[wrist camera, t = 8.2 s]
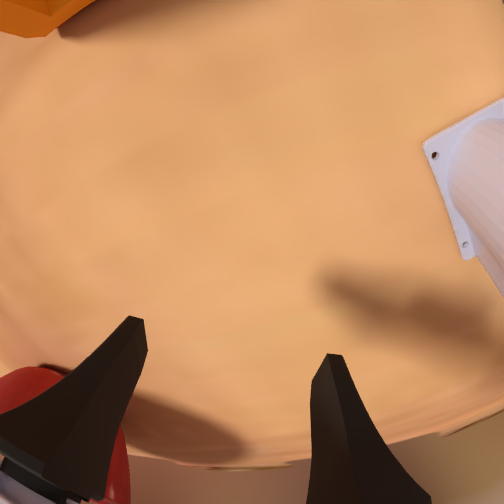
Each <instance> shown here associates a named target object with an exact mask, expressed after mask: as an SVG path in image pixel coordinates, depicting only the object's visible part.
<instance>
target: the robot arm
mask: <svg viewBox="0 0 504 504" xmlns="http://www.w3.org/2000/svg"><path fill="white" fill-rule="evenodd" d="M422 148H423V152H424V154H425V156H426V158H427V161H428V163H429V165H430V168H431V170H432V173H433V175H434V177H435V180H436V182H437V185H438V188H439V190H440V193H441V195H442V198H443V201H444V204H445V207H446V209H447V212H448V215H449V218H450V221H451V224H452V227H453V230H454V234H455V237H456V240H457V244H458V247H459V251H460V254H461V256H462V258H463V259H464V260H469V259H471V258H473V257H474V256H476V257H477V258H478V260H479V261H480V262H481V264H482V265H483V267H484V268H485V270H486V271H487V273H488V274H489V276H490V277H491V279H492V280H493V282H494V283H495V285H496V286H497V288H498V290H499V291H500V293H501V294H502V296H503V298H504V97H503V98H501V99H499V100H497V101H495V102H493V103H492V104H490V105H488V106H486V107H484V108H482V109H481V110H479V111H477V112H475V113H473V114H472V115H470V116H468V117H466V118H464V119H463V120H461V121H459V122H457V123H455V124H453V125H452V126H450V127H448V128H446V129H444V130H443V131H441V132H439V133H437V134H435V135H434V136H432V137H430V138H428V139H427V140H425V141H424V143H423V146H422ZM433 152H436V154H437V155H436V157H435V158H432V153H433ZM464 242H466V243H465V244H464V245H463V243H464ZM147 352H148V347H147V341H146V334H145V327H144V319H141V318H137V317H133V316H128V317H127V318H126V319H125V320H124V321H123V322H122V323H121V324H120V325H119V326H118V327H117V328H116V330H115V331H114V332H113V333H112V334H111V335H110V336H109V337H108V338H107V339H106V340H105V341H104V342H103V343H102V344H101V345H100V346H99V347H98V348H97V349H96V350H95V351H94V352H93V353H92V354H91V355H90V356H89V357H87V358H86V359H85V360H84V361H83V362H82V363H81V364H80V365H78V366H77V367H76V368H75V369H74V370H73V371H71V372H70V373H69V374H68V375H67V376H65V377H64V378H63V379H61V380H60V381H59V382H57V383H56V384H54V385H53V386H51V387H50V388H49V389H47V390H46V391H44V392H43V393H41V394H39V395H38V396H36V397H34V398H32V399H31V400H29V401H27V402H25V403H23V404H22V405H20V406H18V407H16V408H13V409H11V410H9V411H7V412H4V413H2V414H0V453H1V454H2V455H3V456H5V457H4V459H3V461H2V460H1V459H0V504H80V502H81V499H82V500H84V501H86V502H89V500H90V498H91V499H93V500H96V501H100V500H103V499H104V498H105V492H106V485H107V478H108V473H109V468H110V462H111V458H112V453H113V449H114V445H115V441H116V437H117V434H118V430H119V426H120V423H121V420H122V417H123V415H124V412H125V410H126V408H127V405H128V403H129V400H130V398H131V396H132V393H133V391H134V389H135V386H136V384H137V382H138V379H139V377H140V375H141V372H142V369H143V366H144V362H145V359H146V355H147ZM310 416H311V442H312V461H311V471H310V480H309V488H308V495H307V501H306V504H432V502H431V496H430V495H429V494H428V493H427V492H426V491H424V490H423V489H422V488H421V487H420V486H419V485H418V484H417V483H416V482H415V481H414V480H413V478H412V477H411V476H410V475H409V474H408V473H407V472H406V471H405V469H404V468H403V467H402V465H401V464H400V463H399V462H398V460H397V459H396V458H395V457H394V455H393V454H392V452H391V451H390V450H389V448H388V447H387V445H386V444H385V442H384V441H383V439H382V437H381V436H380V434H379V433H378V431H377V429H376V427H375V426H374V424H373V422H372V420H371V418H370V416H369V414H368V412H367V410H366V408H365V406H364V404H363V402H362V400H361V398H360V396H359V394H358V391H357V389H356V387H355V385H354V382H353V380H352V378H351V375H350V373H349V370H348V368H347V365H346V363H345V360H344V358H343V356H342V355H336V354H328V353H327V355H326V357H325V359H324V360H323V362H322V364H321V366H320V367H319V369H318V371H317V373H316V374H315V376H314V378H313V380H312V384H311V397H310Z"/></svg>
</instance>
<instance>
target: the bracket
mask: <svg viewBox="0 0 504 504" xmlns="http://www.w3.org/2000/svg"><path fill="white" fill-rule="evenodd" d="M93 1H95V0H0V31H2V32H5V33H9V34H13V35H17V36H20V37H24V38H33V37H46V36H47V35H48V34H49V33H51V32H52V31H53V30H54V29H56V28H57V27H58V26H59V25H61V24H62V23H63V22H65V21H66V20H67V19H69V18H70V17H71V16H73V15H74V14H76V13H77V12H78V11H80V10H81V9H83V8H84V7H86V6H87V5H89V4H90V3H92V2H93Z"/></svg>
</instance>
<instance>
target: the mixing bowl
mask: <svg viewBox="0 0 504 504" xmlns="http://www.w3.org/2000/svg"><path fill="white" fill-rule="evenodd" d="M65 376H67V375H66V374H64V373H62V372H60V371H57V370H54V369H50V368H40V367H24V368H21V369H17V370H15V371H13V372H11V373H9V374H7V375H5V376H3V377H1V378H0V414H2V413H4V412H7V411H9V410H11V409H13V408H16V407H18V406H20V405H22V404H23V403H25V402H27V401H29V400H31V399H32V398H34V397H36V396H38V395H39V394H41V393H43V392H44V391H46V390H47V389H49V388H50V387H51V386H53V385H54V384H56V383H57V382H59V381H60V380H61V379H63V378H64V377H65ZM130 499H131V497H130V473H129V463H128V456H127V449H126V444H125V439H124V434H123V431H122V428H121V426H119V430H118V434H117V437H116V441H115V445H114V449H113V453H112V458H111V462H110V468H109V473H108V478H107V485H106V492H105V498H104V499H103V500H100V501H96V500H93V499H91V498H90V501H92V502H95V503H97V504H131V503H130V501H131V500H130Z"/></svg>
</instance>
